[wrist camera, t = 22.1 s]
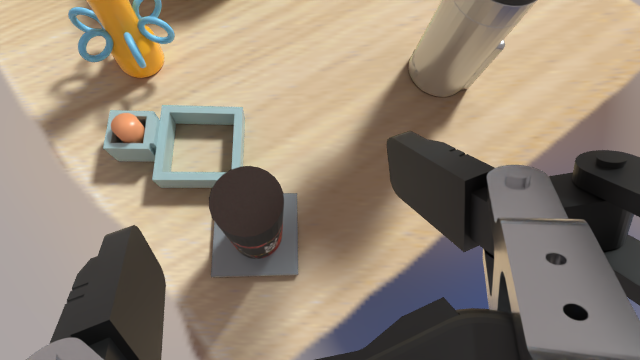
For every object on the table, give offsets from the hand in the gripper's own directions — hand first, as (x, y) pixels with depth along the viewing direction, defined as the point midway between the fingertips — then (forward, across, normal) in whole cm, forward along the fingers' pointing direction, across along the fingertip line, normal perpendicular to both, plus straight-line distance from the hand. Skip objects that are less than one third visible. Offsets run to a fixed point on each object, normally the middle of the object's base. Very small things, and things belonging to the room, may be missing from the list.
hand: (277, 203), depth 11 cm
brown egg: (+38, +11, +7) cm, 40 cm away
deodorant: (+26, +1, +19) cm, 32 cm away
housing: (+36, +7, +10) cm, 38 cm away
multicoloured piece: (+48, +8, -1) cm, 48 cm away
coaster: (+27, +1, +19) cm, 33 cm away
